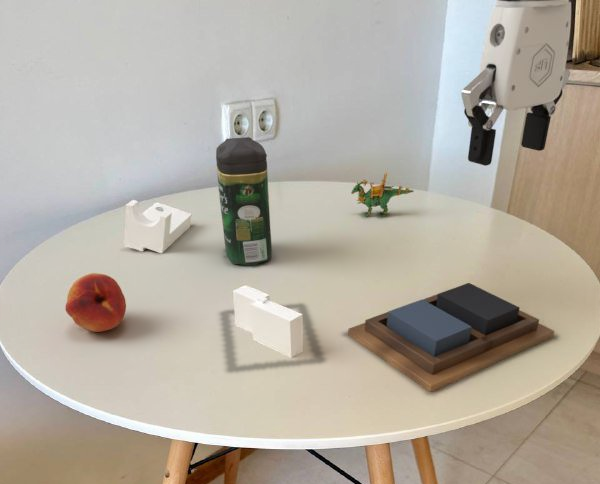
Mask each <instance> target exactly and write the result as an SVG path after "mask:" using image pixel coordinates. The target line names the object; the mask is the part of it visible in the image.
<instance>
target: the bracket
mask: <svg viewBox="0 0 600 484" xmlns="http://www.w3.org/2000/svg"><path fill="white" fill-rule="evenodd" d="M124 215H125V217H124V234H123V246H124V247H127V248H131V249H133V250H136V251H139V252H141V253H142V252H145V250H146V249H148V250H150V251H154V252H156V253H159V254H163V253H164V252H165V251H166V250H168V249H169V248H170V246H171V245H173V244H174V242H176V241H177V240H178V239H179V238H180V237H181V236H183V234H184V233H185V232H186V231H188V229H190V227H191V224H192V216H193V214H192V213H191V212H187V211H185V210H182V209H179V208H175V207H173V206H170V205H167V204H164V203H160V202H158V201H156V202H155V203H153V204H152V205H151V206H150V207H148V208H147V209H146V210H144V211H143V212H142V211H141V209H140V206H139V201H138V200H136V199H132V200H130V201H129V202H128V203H126V204H125V214H124Z"/></svg>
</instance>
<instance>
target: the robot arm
mask: <svg viewBox="0 0 600 484" xmlns="http://www.w3.org/2000/svg"><path fill="white" fill-rule="evenodd" d="M489 18H490V19H489V21H488V26H487V30H486V34H485V37H484V42H483V48H482V52H481V57H480V64H479V70H478V75H477V76H475V78H474V79H473V80H471V81H470V82H469V83H468V84H467V85H466V86H465V87H464V88H463V89H462V90H461V99H462V104H463V107H464V109H463V110H464V111H463V112H464V113H463V114H464V115H465V117H466V118H467V120H468V121H467V124H468V126H469V127H471V129H470V130H471V131H470V139H469V146H468V152H467V153H468V154H467V160H468V162H470V163H474V164H477V165H481V166H486V167H488V166H489V165H492V162H493V161H492V160H493V155H494V149H495V148H494V147H495V140H496V134H497V129H495V128H493V126H494V125H495V124H496V122H497V121H498V119H499V117H500V116H501V114H502V112H503V111H504V110H505V111H511V112H513V111H518V110H523V109H527V108H529V109H530V111H528V112H526V115H525V121H524V126H523V131H522V137H521V143H520V144H521V147H522V148H526V149H530V150H532V151H533V150H534V151H537V152H540V151H544V150H545V148H546V144H547V138H548V134H549V129H550V124H551V118H552V116H553V115H554V114H555V112H556V110H557V106H556V105H557V104H558V102H559V101H560V100H561V98H562V96H563V90H564V88H565V86H566V85H567V82H568V80H569V78H570V75H571V72H570V70H569V69H568V68H567V67H566V65H567V59H568V53H569V44H570V37H571V26H572V25H571V24H572V2H571V1H570V0H495V3H494V6H492V11H491V15H490V17H489ZM487 110H490V111H488V113H486V111H487Z"/></svg>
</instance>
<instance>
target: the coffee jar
mask: <svg viewBox="0 0 600 484" xmlns="http://www.w3.org/2000/svg"><path fill="white" fill-rule="evenodd" d="M267 157H268V155H267V153H266V150H265V148H264V147H263V145H262V144H261V143H260V142H258V141H256V140H254V139H253V138H252V137H249V136H248V137H247V136H246V137H233V138H232V137H231V138H226V139H225V140H224V141H223V142H222V143H220V144H219V145H218V146H217V147H216V150H215V159H216V160H215V161H216V171H217V173H216V174H217V185H218V186H217V187H218V195H219V196H218V197H219V204H220V212H221V221H222V230H223V239H224V240H223V241H224V247H225V255H226V257H227V259H228V261H230V262H231V264H235V265H242V266H254V265H255V266H256V265H258V264H261V263H264V262H268V261H269V260H271V258H272V256H273V251H272V232H271V216H270V215H271V214H270V198H269V197H270V196H269V180H268V179H269V178H268V176H269V175H268V174H269V173H268V161H267Z"/></svg>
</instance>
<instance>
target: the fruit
mask: <svg viewBox="0 0 600 484" xmlns="http://www.w3.org/2000/svg"><path fill="white" fill-rule="evenodd" d="M126 310H127V301H126V298H125V295H124V293H123V290H122V288H121V286H120V285H119V284H118V282H117V280H116V279H114V278H113V277H111V276H110V275H107V274H105V273H104V274H103V273H97V272H96V273H95V272H93V273H88V274H84V275H83V276H81V277H80V278H78V279H76V280H75V281H74V282H73V283H72V285H71V287H70V288H69V291H68V293H67V298H66V303H65V312H66V314H67V315H68V316H69V317H70V318H71V319H72V320H73V322H74V323H75V324H76V325H77V326H79V327H80V328H82V329H84V330H87V331H89V332H90V331H91V332H95V333H97V332H99V333H100V332H107V331H110V330H112V329H115V328H117V327H118V326H119V324H120V323H121V322H122V320H123V319H124V317H125V314H126V312H127V311H126Z"/></svg>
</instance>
